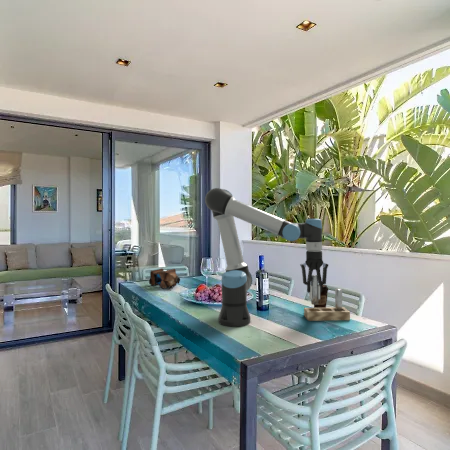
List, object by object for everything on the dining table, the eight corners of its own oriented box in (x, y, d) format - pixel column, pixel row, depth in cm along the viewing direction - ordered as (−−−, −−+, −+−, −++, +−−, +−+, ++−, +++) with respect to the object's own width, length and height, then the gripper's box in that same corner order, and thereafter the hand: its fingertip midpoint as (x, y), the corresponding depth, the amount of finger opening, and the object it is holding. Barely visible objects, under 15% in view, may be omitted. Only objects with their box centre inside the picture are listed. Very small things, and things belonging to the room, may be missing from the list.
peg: (312, 305, 166) (311, 276, 166) (310, 303, 169) (310, 274, 169) (318, 304, 166) (318, 275, 166) (317, 303, 169) (316, 274, 169)
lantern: (155, 293, 251) (179, 296, 235) (142, 278, 243) (166, 281, 227) (167, 276, 261) (191, 278, 245) (155, 261, 252) (179, 262, 237)
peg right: (336, 318, 167) (336, 290, 166) (334, 316, 170) (334, 288, 169) (343, 318, 167) (343, 289, 166) (340, 316, 170) (340, 288, 169)
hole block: (308, 320, 164) (308, 312, 164) (304, 315, 172) (304, 307, 172) (350, 320, 164) (350, 311, 164) (344, 315, 172) (344, 307, 172)
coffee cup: (329, 312, 177) (329, 287, 177) (312, 311, 179) (312, 286, 178) (327, 308, 186) (327, 283, 185) (311, 307, 187) (311, 283, 187)
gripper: (299, 251, 163) (299, 301, 164) (333, 251, 163) (333, 300, 164) (295, 250, 171) (296, 297, 171) (328, 249, 171) (328, 296, 172)
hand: (314, 298), depth 168 cm, fingers closed on peg, 3 cm apart
